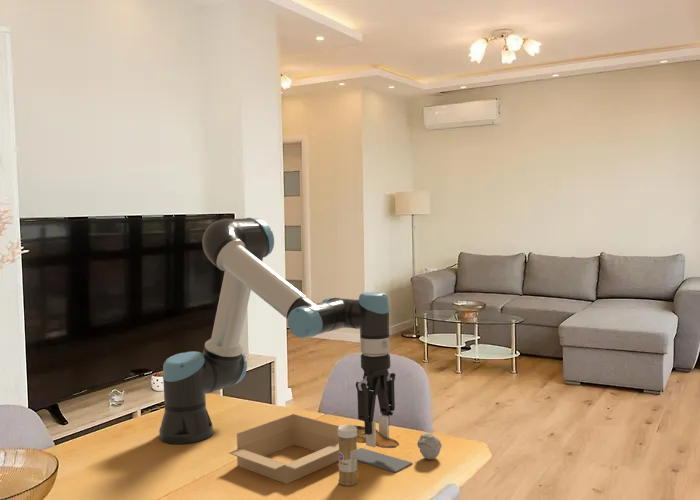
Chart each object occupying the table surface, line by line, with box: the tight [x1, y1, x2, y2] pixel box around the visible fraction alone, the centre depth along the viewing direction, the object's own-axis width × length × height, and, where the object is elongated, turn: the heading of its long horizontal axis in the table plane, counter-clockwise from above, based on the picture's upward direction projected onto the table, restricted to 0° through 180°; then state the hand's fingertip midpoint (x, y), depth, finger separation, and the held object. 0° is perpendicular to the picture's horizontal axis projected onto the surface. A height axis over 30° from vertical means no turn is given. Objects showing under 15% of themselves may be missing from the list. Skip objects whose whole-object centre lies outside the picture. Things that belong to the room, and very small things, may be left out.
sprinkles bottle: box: [338, 424, 359, 487], centre depth 159 cm, size 5×5×14 cm
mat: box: [357, 447, 413, 474], centre depth 172 cm, size 17×7×1 cm, turn 49°
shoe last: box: [353, 424, 400, 449], centre depth 172 cm, size 4×14×5 cm, turn 55°
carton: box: [228, 413, 340, 485], centre depth 170 cm, size 21×23×8 cm
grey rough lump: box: [416, 432, 442, 460], centre depth 172 cm, size 6×7×7 cm
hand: (377, 442), depth 172 cm, fingers closed on shoe last, 5 cm apart
